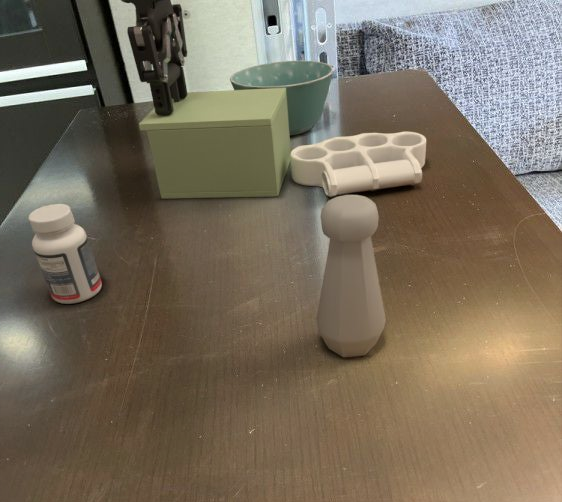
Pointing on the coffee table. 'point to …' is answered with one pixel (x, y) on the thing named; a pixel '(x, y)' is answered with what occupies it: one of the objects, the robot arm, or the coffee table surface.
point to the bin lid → (216, 107)
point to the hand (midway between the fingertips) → (172, 105)
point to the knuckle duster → (360, 162)
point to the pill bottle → (64, 254)
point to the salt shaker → (350, 278)
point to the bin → (222, 159)
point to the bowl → (292, 88)
